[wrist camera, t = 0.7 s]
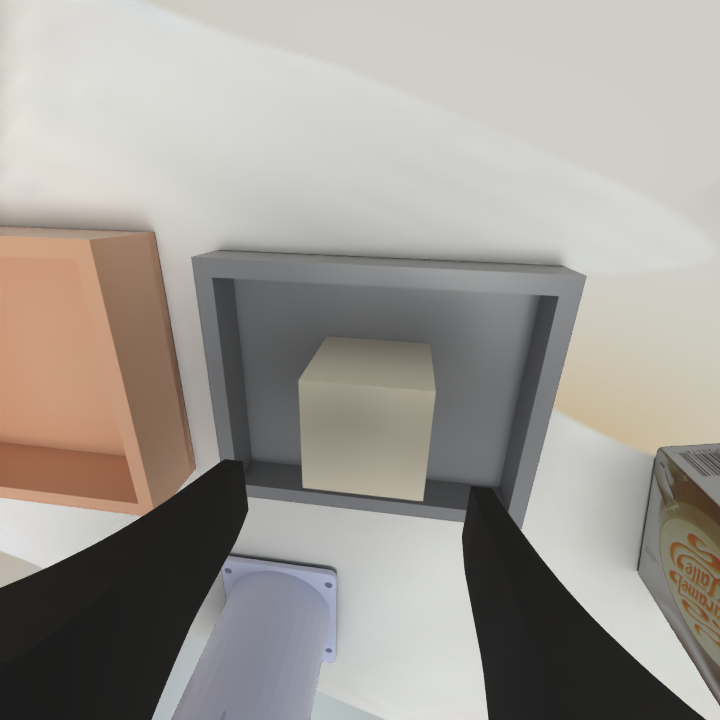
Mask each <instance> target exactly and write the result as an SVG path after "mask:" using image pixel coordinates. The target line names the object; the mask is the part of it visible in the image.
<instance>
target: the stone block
mask: <svg viewBox="0 0 720 720" xmlns="http://www.w3.org/2000/svg"><path fill="white" fill-rule="evenodd" d="M298 385H299V409H300V434H301V459H302V484H303V488H310V489H318V490H327V491H336V492H345V493H353V494H362V495H371V496H379V497H388V498H397V499H406V500H414V501H423V497H424V488H425V480H426V472H427V463H428V455H429V446H430V438H431V429H432V421H433V412H434V404H435V395H436V388H435V380H434V371H433V363H432V354H431V346H430V343H416V342H401V341H387V340H373V339H358V338H344V337H329V336H327V337H326V338H325V340H324V341H323V343H322V345H321V346H320V348H319V349H318V351H317V352H316V354H315V355H314V357H313V358H312V360H311V362H310V363H309V365H308V366H307V368H306V369H305V371H304V372H303V374H302V376H301V377H300V379H299V380H298Z"/></svg>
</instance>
